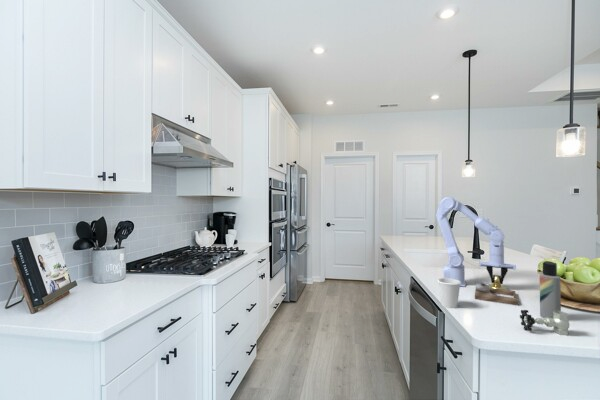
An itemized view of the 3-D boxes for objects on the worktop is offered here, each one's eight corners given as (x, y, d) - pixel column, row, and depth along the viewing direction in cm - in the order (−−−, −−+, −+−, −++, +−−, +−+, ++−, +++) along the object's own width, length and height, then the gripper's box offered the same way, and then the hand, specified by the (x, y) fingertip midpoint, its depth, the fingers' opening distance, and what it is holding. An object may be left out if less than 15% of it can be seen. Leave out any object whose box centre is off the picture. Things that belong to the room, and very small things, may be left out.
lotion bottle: (556, 315, 106) (555, 260, 106) (564, 321, 101) (563, 264, 101) (537, 313, 108) (536, 260, 108) (544, 319, 103) (543, 263, 103)
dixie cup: (433, 303, 120) (432, 279, 120) (447, 300, 123) (447, 277, 123) (450, 310, 112) (450, 284, 112) (465, 307, 115) (465, 282, 115)
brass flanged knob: (488, 290, 137) (488, 276, 137) (488, 286, 143) (488, 273, 143) (506, 292, 133) (506, 278, 133) (505, 288, 139) (505, 274, 139)
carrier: (474, 299, 125) (474, 287, 125) (475, 289, 138) (475, 278, 138) (518, 305, 117) (518, 293, 117) (514, 294, 130) (514, 283, 130)
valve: (562, 329, 95) (519, 325, 99) (561, 309, 95) (519, 306, 99) (575, 338, 89) (529, 334, 92) (575, 317, 89) (529, 313, 92)
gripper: (478, 254, 139) (478, 282, 138) (516, 257, 131) (516, 287, 131) (478, 252, 144) (479, 279, 144) (515, 254, 137) (515, 283, 137)
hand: (497, 283), depth 138 cm, fingers closed on brass flanged knob, 3 cm apart
